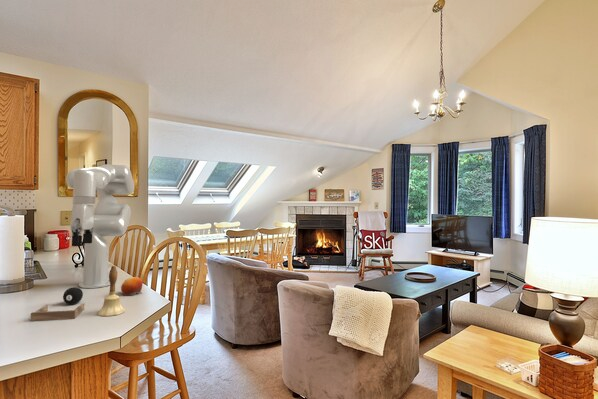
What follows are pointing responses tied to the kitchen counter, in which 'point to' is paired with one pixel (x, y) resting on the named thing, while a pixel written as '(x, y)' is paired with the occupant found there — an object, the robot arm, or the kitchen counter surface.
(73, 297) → the billiard ball
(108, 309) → the hand bell
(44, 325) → the kitchen counter surface
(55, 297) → the kitchen counter surface
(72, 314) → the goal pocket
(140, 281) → the fruit
